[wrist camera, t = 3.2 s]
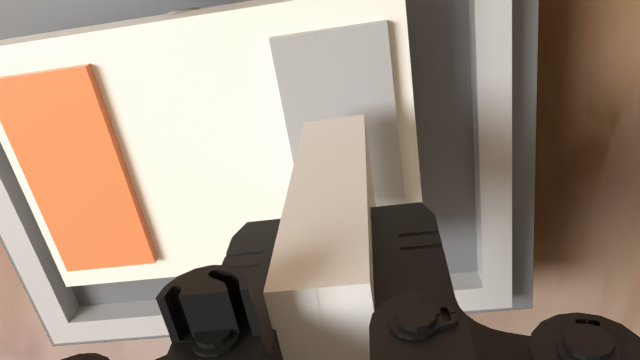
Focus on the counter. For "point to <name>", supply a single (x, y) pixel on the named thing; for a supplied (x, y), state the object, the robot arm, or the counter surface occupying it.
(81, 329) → the grey switch base
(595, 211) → the counter surface
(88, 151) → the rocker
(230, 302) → the robot arm
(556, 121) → the counter surface
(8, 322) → the counter surface
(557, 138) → the counter surface
